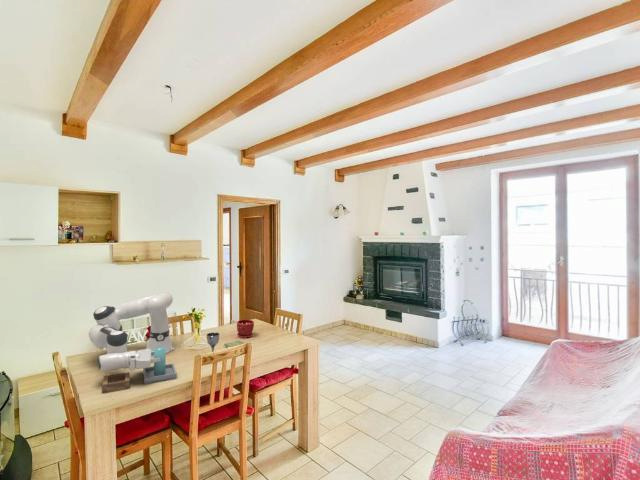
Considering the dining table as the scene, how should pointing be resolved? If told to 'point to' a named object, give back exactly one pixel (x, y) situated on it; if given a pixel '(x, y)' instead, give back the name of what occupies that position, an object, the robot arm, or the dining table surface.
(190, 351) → the dining table surface
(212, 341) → the wine glass
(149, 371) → the tray
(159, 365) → the pillar candle
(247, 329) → the plant pot
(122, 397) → the dining table surface
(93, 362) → the dining table surface
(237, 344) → the washcloth
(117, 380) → the cup holder
